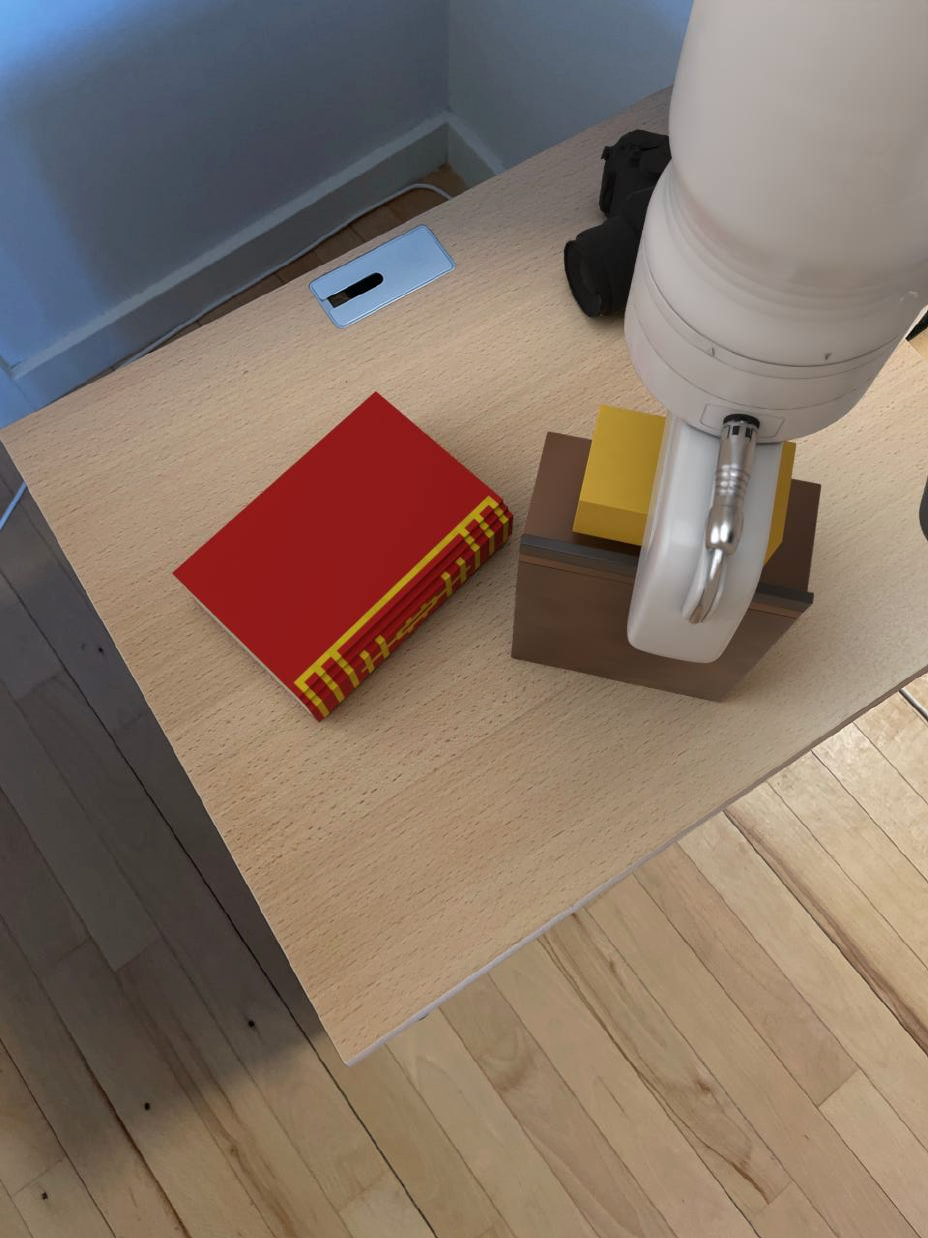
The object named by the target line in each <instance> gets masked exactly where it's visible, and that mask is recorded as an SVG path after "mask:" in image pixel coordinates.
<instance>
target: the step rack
mask: <svg viewBox="0 0 928 1238" xmlns="http://www.w3.org/2000/svg"><path fill="white" fill-rule="evenodd" d="M517 562H518V563H517V572H516V573H517V574H516V575H517V576H516V587H515V588H516V589H515V600H514V601H515V602H514V613H513V625H512V627H513V628H512V639H511V640H512V641H511V651H510V654H511V655H510V658H511V659H517V660H521V661H524V662H530V663H534V664H537V665H538V664H539V665H542V666H543V665H544V666H548V667H553V668H556V669H557V668H558V669H562V670H566V671H571V672H576V673H580V674H584V675H585V674H586V675H589V676H595V677H599V678H603V679H607V680H612V681H617V682H622V683H627V684H631V685H635V686H641V687H644V688H649V689H654V690H659V691H664V692H667V693H668V692H669V693H673V694H677V695H681V696H682V695H683V696H686V697H691V698H696V699H700V700H705V701H710V702H715V703H719V704H721V703H722V702H723V701H724V700H725V699H726V698H727V697H728V696H729V695H730V694H731V693H732V691H733V690H735V688H736V687H737V686H738V685H739V684H740V683H741V682H742V680H744V678H746V676H747V675H748V674H749V673H750V672H751V671H752V670H753V669H754V668H755V666H756V665H757V664H758V663H759V662H760V661H761V660H762V659H763V658H764V657H765V655H767V654H768V653H769V651H770V650H771V649H772V648H773V647H774V646H775V645H776V644H777V643H778V642H779V641H780V639H781V638H782V637H783V636H784V635H785V634H786V633H787V632H788V631H789V630H790V629H791V628H792V626H793V625H794V624H796V622H797V621H798V620H799V618H795V617H790V616H785V615H780V614H775V613H770V612H766V611H761V610H756V609H751V608H748V609H747V611H746V613H745V615H744V617H743V618H742V620H741V622H740V624H739V626H738V628H737V629H736V631H735V633H734V635H733V636H732V638H731V640H730V641H729V643H728V645H727V646H726V648H725V650H724V651H723V653H722V654H721V656H720V657H719V658H718V659H716V660H715V661H713V662H710V663H698V662H690V661H684V660H679V659H673V658H668V657H664V656H660V655H656V654H652V653H648V652H645V651H642V650H639V649H637V648H635V647H633V646H632V645H631V644H630V642H629V640H628V636H627V623H628V616H629V610H630V605H631V600H632V594H633V589H634V584H630V583H625V582H621V581H616V580H611V579H606V578H601V577H596V576H592V575H587V574H582V573H577V572H572V571H567V570H563V569H558V568H553V567H548V566H543V565H538V564H534V563H529V562H524V561H520V560H519V559H518V561H517Z"/></svg>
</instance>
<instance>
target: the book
mask: <svg viewBox="0 0 928 1238" xmlns="http://www.w3.org/2000/svg"><path fill="white" fill-rule="evenodd" d="M513 526H514V513H512V512H511V511H510V510H509V506H508V505H507V504H505V502H504V498H502V497H501V496H500V495H499V494H497V493H496V492H495V491H494V490H493V489H492V488H491V487H489V486H488V485H487V484H486V483H485V482H484V481H482V480H481V479H480V478H479V477H477V476H476V475H475V474H474V473H473V472H472V471H471V470H469V469H468V468H467V467H466V466H465V465H463V463H461V462H460V461H459V460H458V459H456V458H455V457H454V456H453V455H452V454H450V453H449V452H448V451H447V450H446V449H445V448H444V447H443V446H441V445H440V444H439V443H438V442H436V441H435V440H434V439H433V438H431V436H429V434H427V433H426V432H425V431H424V430H422V429H421V428H420V427H419V426H418V425H416V424H415V422H413V421H412V420H411V419H409V417H407V416H406V415H405V414H404V413H402V411H400V410H399V409H398V408H397V407H396V406H394V405H393V404H392V403H391V402H389V401H388V399H386V398H385V397H384V396H383V395H381V394H380V393H379V391H376V390H375V391H374V392H373V393H372V394H371V395H369V396H368V397H366V399H365V400H364V401H363V402H361V403H360V405H358V406H357V407H356V408H355V409H354V410H352V412H350V414H349V413H348V415H346V417H345V418H344V419H342V420H341V421H340V422H339V423H338V424H337V425H336V426H334V428H332V429H331V430H330V431H329V432H328V433H326V435H325V436H323V437H322V438H321V439H320V440H319V441H318V442H316V444H314V445H313V446H312V447H311V448H310V449H309V450H308V451H307V452H305V453H304V454H303V455H302V456H301V457H300V458H299V459H298V460H296V461H295V462H294V463H293V464H292V465H291V466H290V467H289V468H288V469H286V470H285V471H284V472H283V473H281V475H279V477H277V478H276V479H275V480H274V481H273V482H272V483H271V484H270V485H268V486H267V487H266V488H265V489H264V490H263V491H262V492H260V494H259V495H257V497H255V498H253V500H251V502H249V504H247V505H246V506H245V507H244V508H243V509H242V510H240V511H239V512H238V513H237V514H236V515H235V516H234V517H233V518H232V519H231V520H229V521H228V522H227V523H226V524H225V525H224V526H223V527H222V528H221V529H219V530H218V531H217V532H216V533H215V534H214V535H212V537H210V538H209V539H208V540H207V541H206V542H205V543H204V544H203V545H201V546H200V547H199V548H198V549H197V550H196V551H195V552H194V553H192V555H190V556H189V557H188V558H187V559H186V560H184V561H183V563H181V564H180V565H178V567H176V568H175V569H174V571H172V572H171V574H172V575H173V576H174V578H176V580H178V581H179V583H180V584H181V585H182V586H183V587H184V589H185V590H186V591H187V592H188V593H189V595H190V596H191V598H192V599H193V600H194V601H195V603H196V604H198V606H199V607H201V608H202V610H204V611H205V612H206V613H207V614H208V615H209V617H211V618H212V620H214V621H215V623H217V624H218V626H220V627H221V628H222V629H223V630H224V631H225V632H226V633H227V634H228V635H229V636H230V637H231V638H232V639H233V640H234V641H235V642H236V643H237V644H238V645H239V646H240V647H241V648H242V649H243V650H244V651H245V652H246V653H247V654H248V655H249V656H250V657H251V658H252V659H253V660H254V661H255V662H256V663H257V664H258V665H259V666H260V667H262V669H263V670H264V671H265V672H267V674H268V675H269V676H270V677H272V679H274V680H275V681H276V683H277V684H279V686H281V687H282V688H283V690H285V691H286V693H288V695H289V696H291V697H292V698H293V699H294V700H295V701H296V702H297V703H298V704H299V706H301V707H302V708H303V709H304V710H305V711H306V712H307V713H308V714H309V716H311V717H312V718H314V720H316V721H317V722H318V723H319V724H320V723H321V722H322V721H323V720H324V719H325V718H326V717H327V716H328V715H329V714H330V713H331V712H332V711H334V710H335V708H336V707H337V706H339V705H340V703H341V702H342V701H344V700H345V699H346V698H347V697H348V696H349V695H350V694H351V693H352V692H353V691H354V690H355V689H356V688H357V687H358V686H359V685H360V684H361V683H362V682H363V681H364V680H365V679H366V678H367V677H368V676H369V675H370V674H371V673H372V672H373V671H374V670H376V668H377V667H378V666H380V665H381V663H382V662H383V661H385V659H386V658H387V657H388V656H389V655H390V654H391V653H393V651H395V649H397V648H398V647H399V646H400V645H401V644H402V643H403V642H404V641H405V640H406V639H407V638H408V637H409V636H410V635H411V634H412V633H413V632H414V631H415V630H416V629H417V628H419V626H420V625H421V624H422V623H423V622H424V621H425V620H427V619H428V617H429V616H430V615H431V614H433V612H434V611H436V610H437V608H438V607H440V606H441V605H442V603H444V602H445V601H446V600H447V599H448V598H449V597H450V596H451V595H452V594H453V593H454V592H455V591H456V590H457V589H458V588H459V587H460V586H462V584H463V583H464V582H465V581H467V579H468V578H470V576H471V575H473V574H474V572H476V570H478V568H479V567H481V565H483V563H485V561H487V559H489V557H491V556H492V555H493V553H494V552H496V551H497V550H498V549H499V548H500V547H501V546H502V545H503V544H504V543H505V542H506V541H507V540H508V539H509V538H510V537H511V536H512V535H513V530H514V529H513V528H514V527H513Z"/></svg>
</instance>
